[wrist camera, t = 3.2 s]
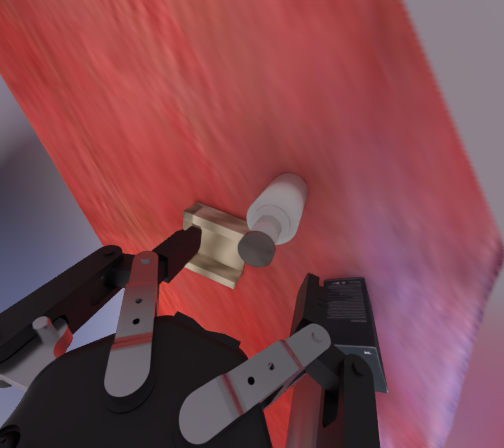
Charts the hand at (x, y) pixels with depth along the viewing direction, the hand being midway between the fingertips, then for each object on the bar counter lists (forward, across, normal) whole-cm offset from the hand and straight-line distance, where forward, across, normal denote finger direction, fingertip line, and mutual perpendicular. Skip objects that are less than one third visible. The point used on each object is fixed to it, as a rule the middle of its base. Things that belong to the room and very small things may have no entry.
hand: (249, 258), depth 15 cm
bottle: (+15, 0, 0) cm, 15 cm away
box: (+15, -14, +13) cm, 24 cm away
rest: (+15, +8, +12) cm, 21 cm away
